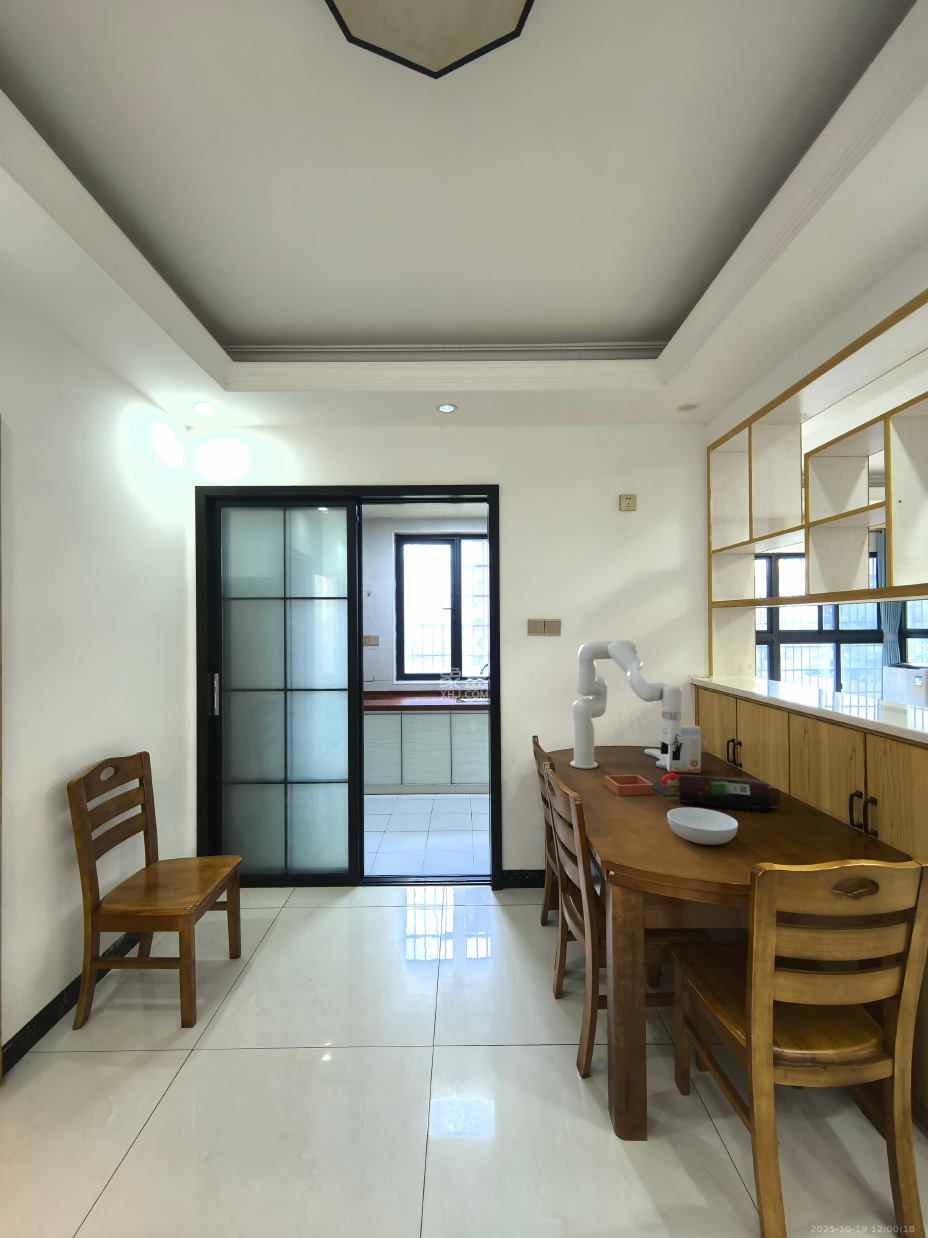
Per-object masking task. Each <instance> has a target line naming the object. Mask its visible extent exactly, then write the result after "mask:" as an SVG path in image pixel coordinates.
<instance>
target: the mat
mask: <svg viewBox="0 0 928 1238" xmlns="http://www.w3.org/2000/svg"><path fill="white" fill-rule="evenodd" d="M649 782H650V783H651V784H653V790H655V791H656V792H658V793H660V795H662V796H664V797H677V795H674V794H669V793H668V791H667V789H666V788H665V787H663V785H662V783H661V781H649Z"/></svg>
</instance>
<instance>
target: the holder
mask: <svg viewBox="0 0 928 1238" xmlns="http://www.w3.org/2000/svg"><path fill="white" fill-rule="evenodd" d="M644 754H645V755H646V756H649V757H653V758H656V759H658V760H657V761H656V763H655V765H656V767H658V768H661V769H663V770H667V754H661V749H659V748H658V749H657V748H646V749H644Z"/></svg>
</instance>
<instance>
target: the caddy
mask: <svg viewBox="0 0 928 1238" xmlns="http://www.w3.org/2000/svg"><path fill="white" fill-rule="evenodd" d="M650 782H651V781H649V780H646V779H645V778H644V777H641V776H640V775H639V774H621V775H620V774H619V775H604V782H603V783H604V786H605V787H606V788H608V790H610V791H612V792H613V793H614V794H616V795H617V796H619V797H621V796H646V795H649V796H650V795H654V789H653V784H651V783H650Z"/></svg>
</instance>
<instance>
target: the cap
mask: <svg viewBox="0 0 928 1238" xmlns="http://www.w3.org/2000/svg"><path fill="white" fill-rule="evenodd" d="M676 779H678V773H670V772H669V773H667V774H665V775H663V777H661V779H660V782H661V783H662V785H663V787H665V788H666V787H667V780H675V781H676Z"/></svg>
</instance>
